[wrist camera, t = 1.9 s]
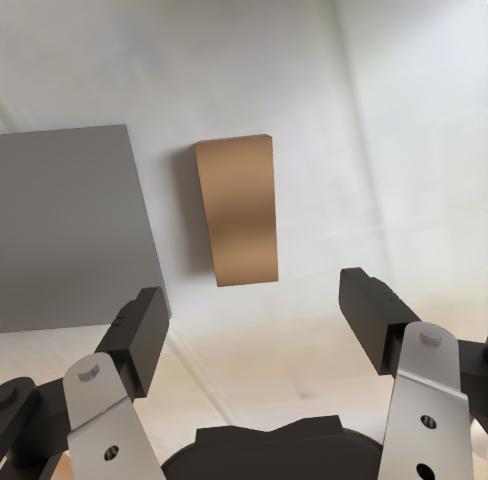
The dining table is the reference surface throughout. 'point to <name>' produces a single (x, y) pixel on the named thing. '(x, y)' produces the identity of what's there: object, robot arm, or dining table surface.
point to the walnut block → (240, 207)
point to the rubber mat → (71, 229)
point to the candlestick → (479, 440)
